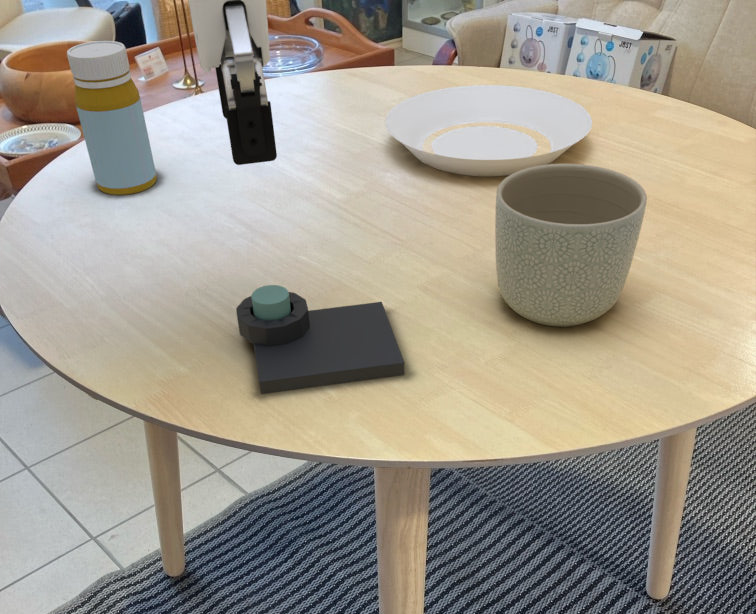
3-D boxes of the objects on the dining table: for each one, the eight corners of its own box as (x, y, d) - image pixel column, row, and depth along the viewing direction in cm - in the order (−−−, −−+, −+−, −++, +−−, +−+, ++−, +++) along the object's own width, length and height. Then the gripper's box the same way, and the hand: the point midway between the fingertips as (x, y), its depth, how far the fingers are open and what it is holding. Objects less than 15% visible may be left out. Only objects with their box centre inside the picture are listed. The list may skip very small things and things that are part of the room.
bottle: (170, 181, 103) (142, 44, 92) (130, 203, 98) (96, 62, 88) (126, 170, 105) (95, 36, 95) (85, 192, 101) (48, 54, 91)
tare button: (255, 324, 73) (252, 305, 71) (252, 305, 75) (249, 287, 74) (292, 319, 73) (290, 301, 72) (288, 300, 75) (286, 282, 74)
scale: (249, 400, 70) (243, 364, 68) (239, 329, 78) (234, 295, 76) (404, 379, 72) (404, 343, 69) (380, 311, 79) (379, 277, 77)
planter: (548, 359, 73) (563, 240, 65) (462, 298, 81) (467, 185, 73) (654, 315, 77) (679, 199, 70) (563, 262, 85) (577, 152, 78)
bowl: (577, 199, 95) (581, 167, 93) (362, 181, 101) (361, 151, 98) (595, 119, 113) (600, 90, 110) (411, 108, 118) (411, 80, 116)
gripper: (149, -147, 60) (194, 106, 72) (153, -110, 48) (207, 188, 60) (254, -155, 61) (282, 96, 73) (286, -121, 49) (313, 175, 61)
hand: (248, 137), depth 66 cm, fingers open, 9 cm apart
